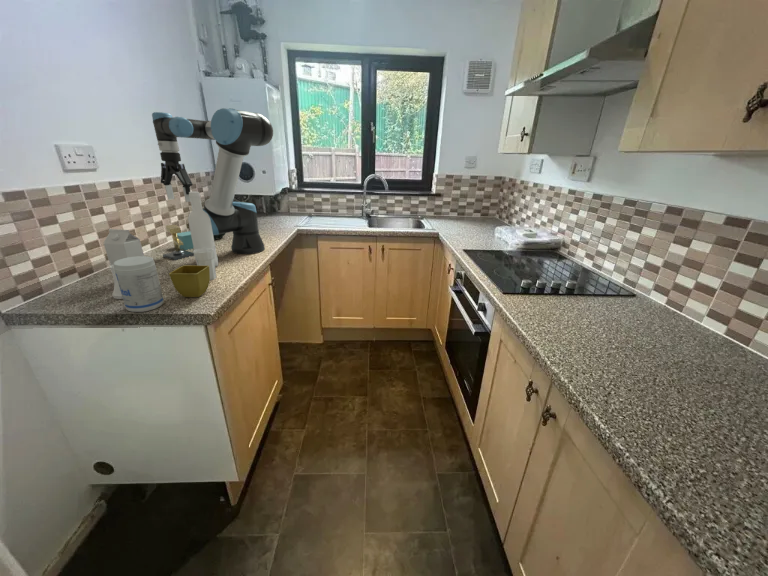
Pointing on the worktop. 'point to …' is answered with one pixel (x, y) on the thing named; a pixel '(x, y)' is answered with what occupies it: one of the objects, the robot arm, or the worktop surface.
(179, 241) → the key
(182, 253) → the plate
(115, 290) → the salt shaker
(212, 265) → the cup
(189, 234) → the teal block
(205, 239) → the bottle
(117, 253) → the milk carton
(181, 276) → the flower pot
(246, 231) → the robot arm
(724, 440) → the worktop surface
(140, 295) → the supplement tub
